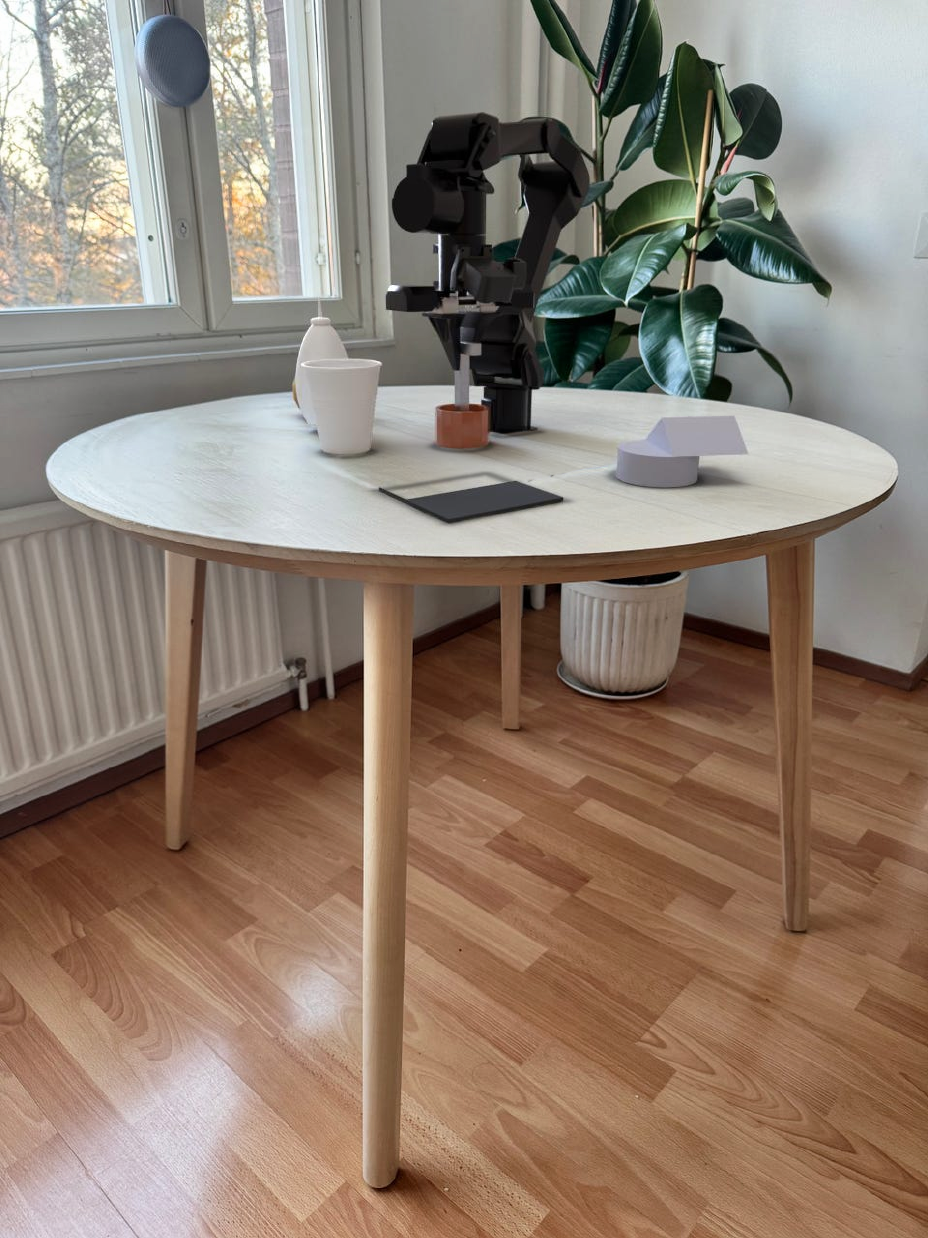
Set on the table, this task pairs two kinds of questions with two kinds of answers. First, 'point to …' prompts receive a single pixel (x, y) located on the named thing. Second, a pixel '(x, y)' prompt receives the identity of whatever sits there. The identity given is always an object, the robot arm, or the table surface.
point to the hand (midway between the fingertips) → (461, 369)
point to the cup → (343, 402)
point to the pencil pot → (462, 426)
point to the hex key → (464, 375)
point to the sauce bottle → (316, 357)
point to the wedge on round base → (677, 450)
